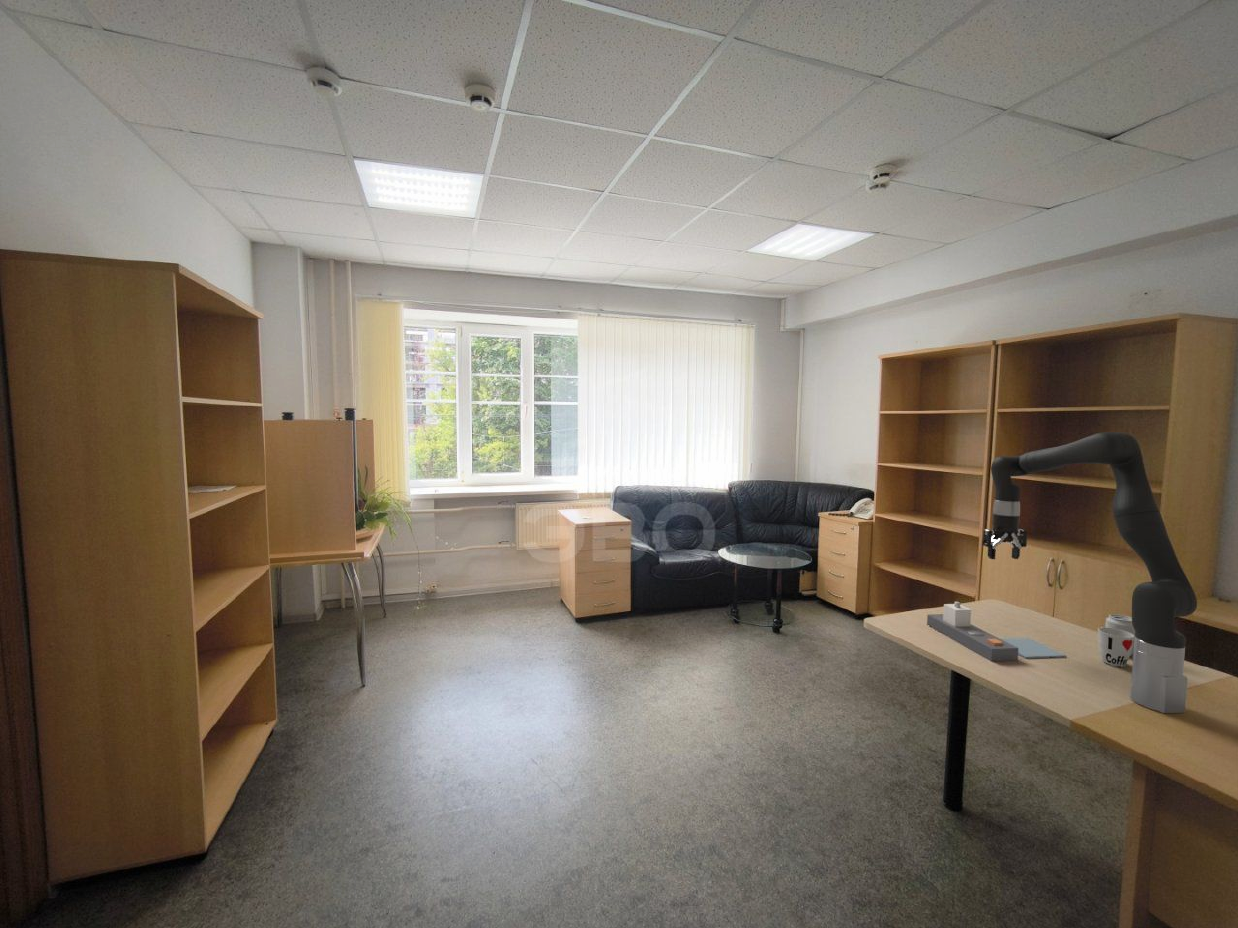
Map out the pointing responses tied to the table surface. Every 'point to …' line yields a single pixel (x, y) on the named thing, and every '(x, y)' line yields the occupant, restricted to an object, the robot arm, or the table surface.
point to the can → (1121, 625)
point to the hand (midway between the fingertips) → (1003, 558)
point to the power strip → (975, 639)
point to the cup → (1115, 645)
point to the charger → (957, 614)
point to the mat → (1032, 648)
